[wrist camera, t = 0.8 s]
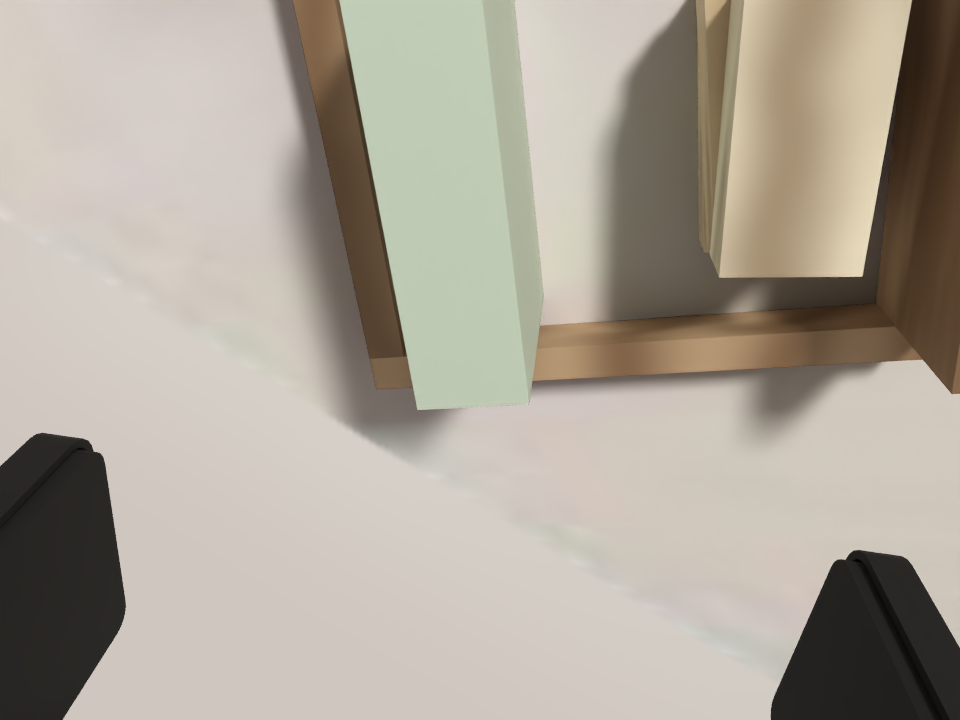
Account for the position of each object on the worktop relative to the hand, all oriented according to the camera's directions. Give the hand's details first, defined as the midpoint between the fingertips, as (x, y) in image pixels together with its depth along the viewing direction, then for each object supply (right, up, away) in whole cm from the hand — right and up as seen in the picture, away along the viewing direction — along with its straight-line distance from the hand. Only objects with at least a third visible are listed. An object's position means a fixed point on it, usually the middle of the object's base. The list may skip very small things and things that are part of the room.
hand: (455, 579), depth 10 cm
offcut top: (+11, +11, +17) cm, 23 cm away
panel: (0, +12, +23) cm, 26 cm away
